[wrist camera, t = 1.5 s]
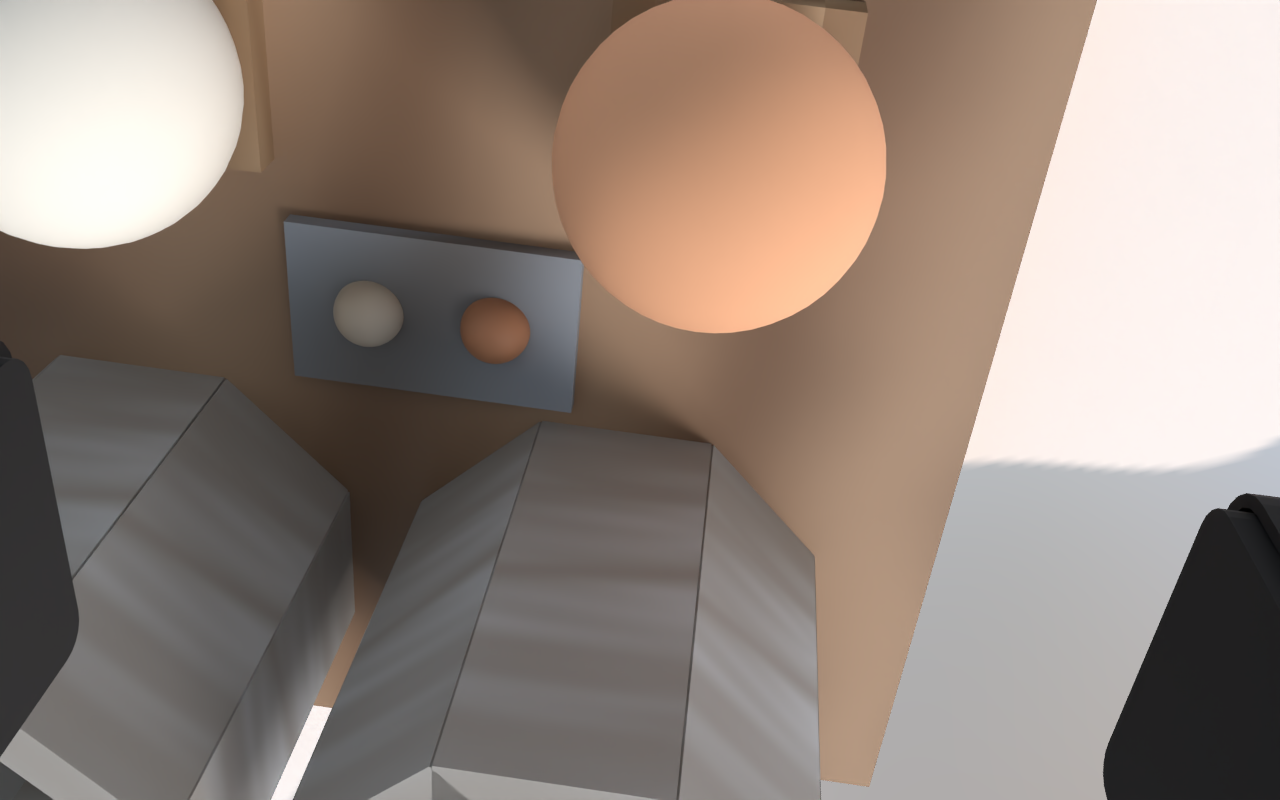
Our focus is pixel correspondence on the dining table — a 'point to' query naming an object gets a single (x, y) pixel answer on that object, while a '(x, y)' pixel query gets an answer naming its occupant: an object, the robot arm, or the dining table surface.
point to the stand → (509, 431)
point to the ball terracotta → (719, 163)
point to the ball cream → (112, 116)
